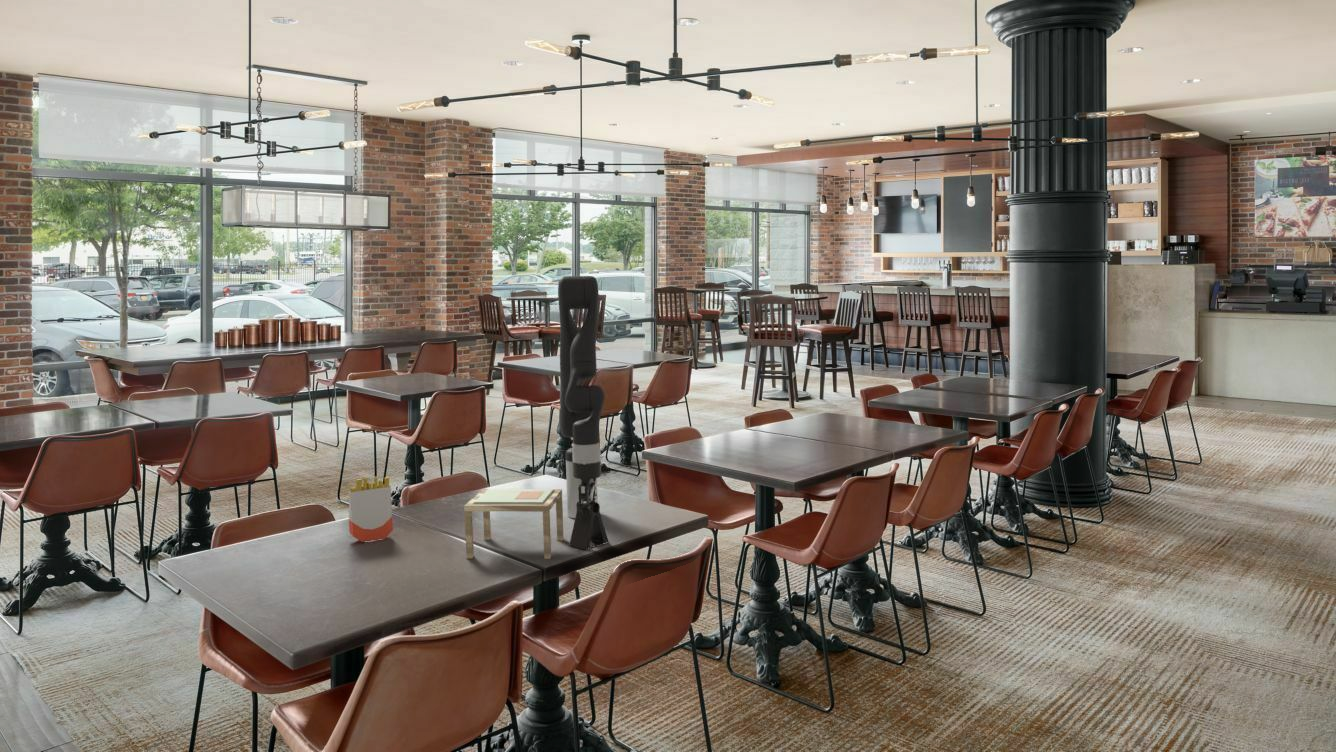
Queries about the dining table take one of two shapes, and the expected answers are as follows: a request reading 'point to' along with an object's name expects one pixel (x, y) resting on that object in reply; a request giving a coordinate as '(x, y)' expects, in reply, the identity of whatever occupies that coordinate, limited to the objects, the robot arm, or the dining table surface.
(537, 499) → the pale green book
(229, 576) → the dining table surface
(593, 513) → the black a-frame stand
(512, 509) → the miniature wooden table
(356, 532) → the french fries container
